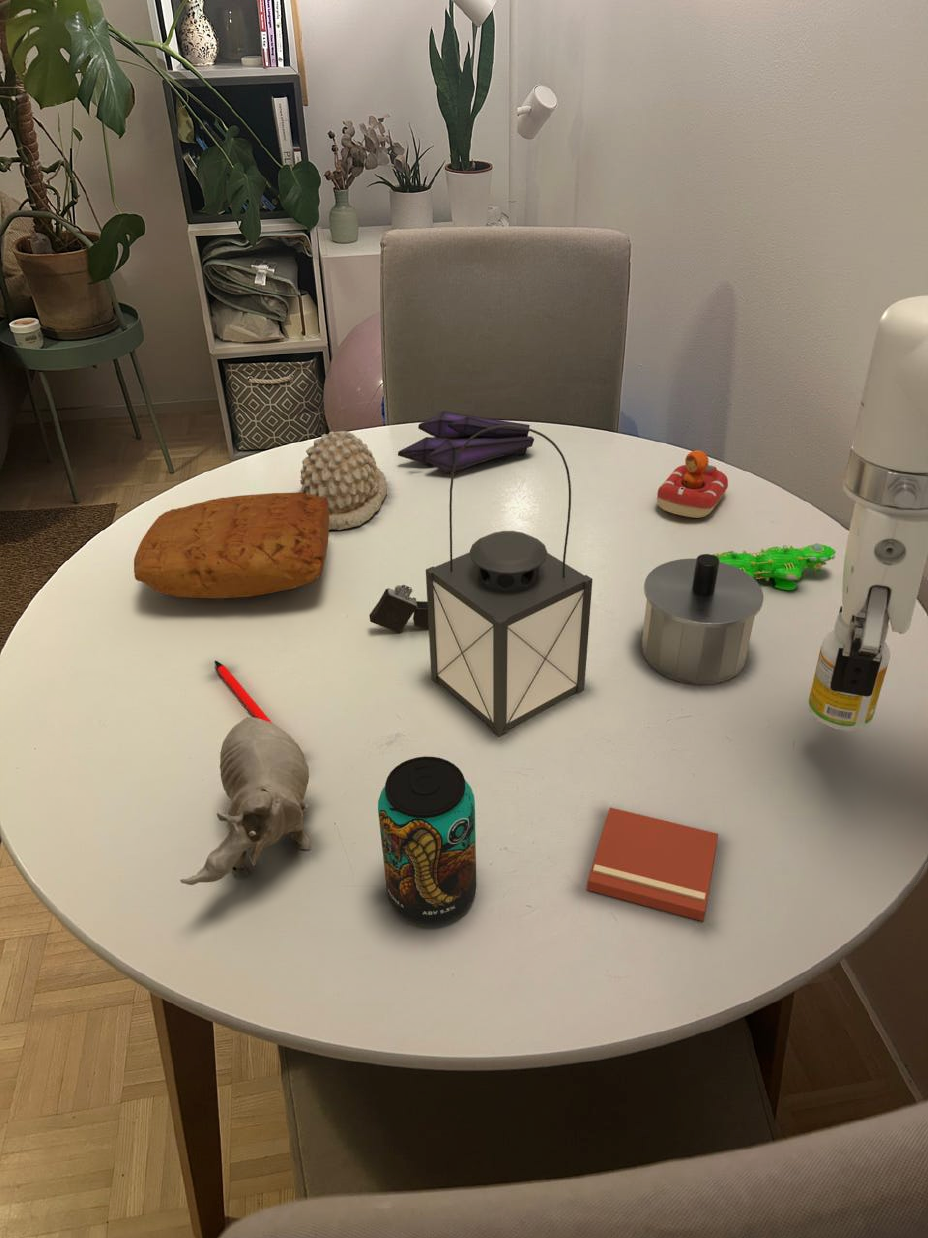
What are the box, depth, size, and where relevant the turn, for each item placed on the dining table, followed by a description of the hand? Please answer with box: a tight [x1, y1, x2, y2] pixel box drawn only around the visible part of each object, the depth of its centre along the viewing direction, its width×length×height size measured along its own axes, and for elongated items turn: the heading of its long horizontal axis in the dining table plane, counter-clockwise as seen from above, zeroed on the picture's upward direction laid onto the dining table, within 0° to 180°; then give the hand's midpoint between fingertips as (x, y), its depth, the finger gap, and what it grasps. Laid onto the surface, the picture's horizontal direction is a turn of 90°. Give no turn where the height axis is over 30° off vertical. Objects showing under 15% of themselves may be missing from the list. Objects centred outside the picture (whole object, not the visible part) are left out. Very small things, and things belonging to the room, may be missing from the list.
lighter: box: [368, 584, 429, 634], centre depth 99 cm, size 8×2×5 cm
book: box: [586, 807, 719, 922], centre depth 73 cm, size 9×8×2 cm
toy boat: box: [656, 449, 729, 519], centre depth 119 cm, size 8×12×8 cm, turn 150°
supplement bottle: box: [807, 612, 891, 731], centre depth 77 cm, size 5×5×10 cm
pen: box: [214, 660, 273, 723], centre depth 89 cm, size 1×19×1 cm, turn 36°
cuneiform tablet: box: [133, 491, 330, 599], centre depth 107 cm, size 22×17×8 cm
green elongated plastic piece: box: [711, 543, 836, 591], centre depth 105 cm, size 7×18×4 cm, turn 99°
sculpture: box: [299, 430, 388, 531], centre depth 121 cm, size 12×17×10 cm
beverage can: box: [377, 755, 478, 924], centre depth 68 cm, size 7×7×12 cm
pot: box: [641, 599, 756, 686], centre depth 93 cm, size 11×11×8 cm
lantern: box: [425, 425, 593, 737], centre depth 84 cm, size 11×11×28 cm
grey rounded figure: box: [179, 716, 312, 886], centre depth 74 cm, size 8×14×15 cm
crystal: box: [397, 410, 535, 474], centre depth 132 cm, size 7×12×20 cm
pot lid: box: [643, 553, 764, 628], centre depth 90 cm, size 12×12×5 cm
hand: (851, 667), depth 77 cm, fingers closed on supplement bottle, 5 cm apart
